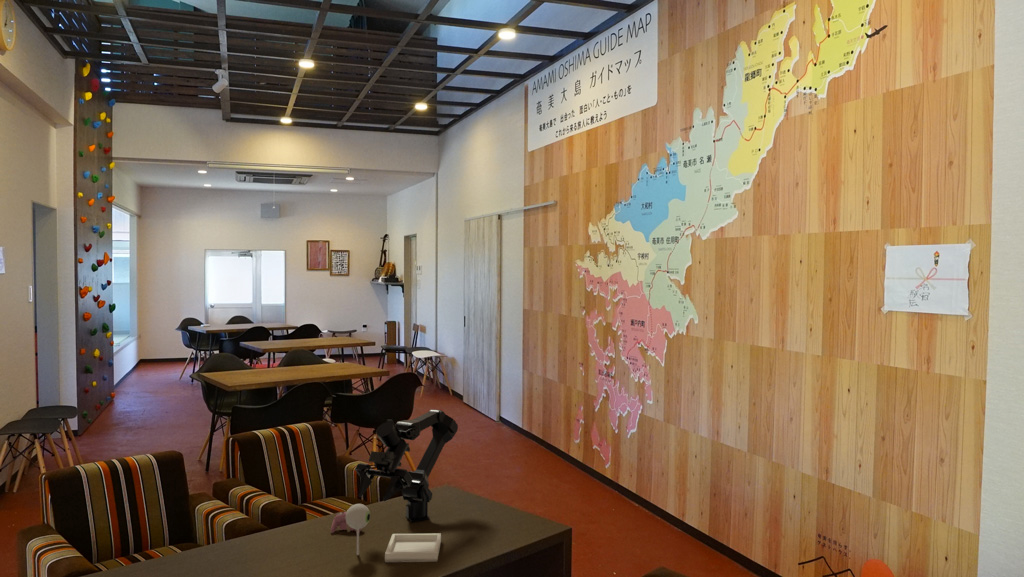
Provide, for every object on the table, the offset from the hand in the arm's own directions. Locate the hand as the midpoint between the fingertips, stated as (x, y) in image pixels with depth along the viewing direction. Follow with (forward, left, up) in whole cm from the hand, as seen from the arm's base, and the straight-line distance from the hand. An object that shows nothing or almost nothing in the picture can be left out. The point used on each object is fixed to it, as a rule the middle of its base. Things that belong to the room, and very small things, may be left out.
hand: (371, 498), depth 205 cm
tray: (-10, +11, -14) cm, 20 cm away
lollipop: (+6, +6, -14) cm, 17 cm away
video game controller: (+4, -15, -15) cm, 21 cm away
